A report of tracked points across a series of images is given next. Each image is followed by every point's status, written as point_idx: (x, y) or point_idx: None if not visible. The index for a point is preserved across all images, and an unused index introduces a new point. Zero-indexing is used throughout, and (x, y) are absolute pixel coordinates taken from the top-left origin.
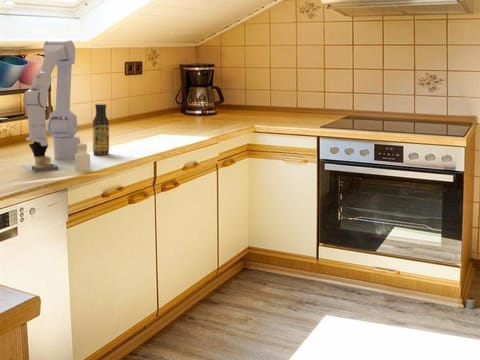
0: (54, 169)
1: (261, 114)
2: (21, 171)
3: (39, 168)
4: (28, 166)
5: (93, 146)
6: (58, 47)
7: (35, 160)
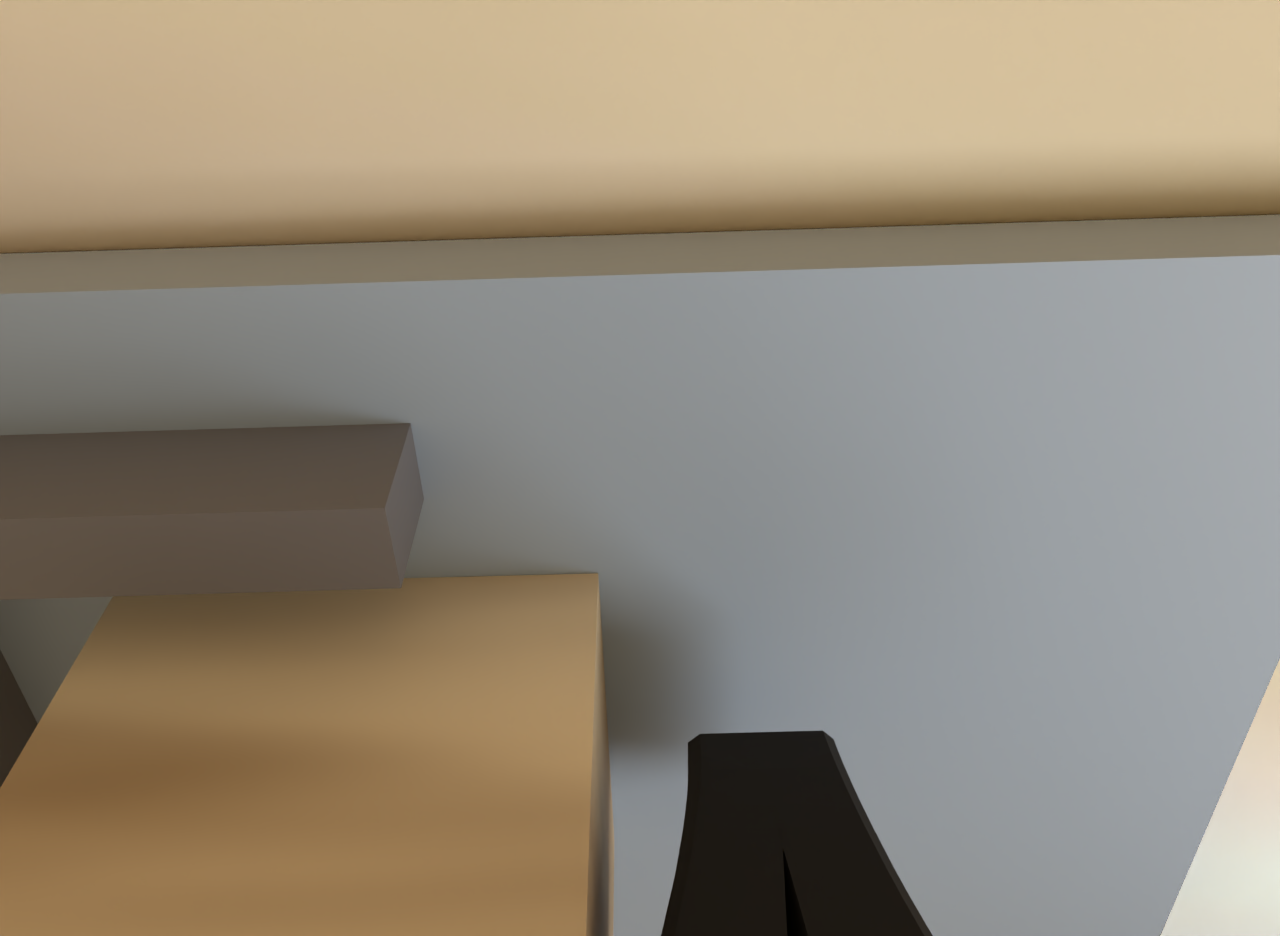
0: None
1: None
2: (713, 37)
3: None
4: (1082, 451)
5: None
6: None
7: (521, 822)
